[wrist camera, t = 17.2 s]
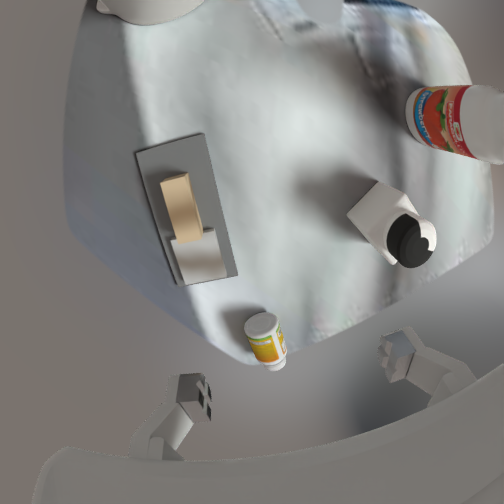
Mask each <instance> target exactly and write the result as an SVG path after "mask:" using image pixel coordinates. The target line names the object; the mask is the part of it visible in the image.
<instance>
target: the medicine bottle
mask: <svg viewBox="0 0 504 504" xmlns="http://www.w3.org/2000/svg"><path fill="white" fill-rule="evenodd" d="M347 217H348V218H349V219H350V220H351V221H352V223H353V224H354V225H355V226H356V227H357V228H358V230H359V231H360V232H361V233H362V234H363V235H364V237H365V238H366V239H367V240H368V241H369V243H370V244H371V245H372V246H373V247H374V248H375V249H376V250H377V251H378V252H379V253H380V254H381V255H382V256H383V257H384V258H385V259H386V260H387V261H388V262H389V263H390V264H392V265H394V264H395V263H396V262H397V261H398V262H399V263H400V264H401V265H403V266H404V267H407V268H415V267H418V266H420V265H422V264H424V263H425V262H426V261H427V260H428V259H429V258H430V256H431V255H432V253H433V251H434V249H435V245H436V231H435V228H434V226H433V225H432V224H431V223H430V222H429V221H427V220H425V219H424V218H422V217H421V216H419V215H418V213H417V211H416V210H415V208H414V207H413V205H412V203H411V202H410V200H409V199H408V197H407V196H406V194H405V193H403V192H401V191H399V190H397V189H395V188H393V187H390V186H388V185H386V184H384V183H382V182H377V183H376V184H375V185H374V186H373V187H372V188H371V189H370V190H369V191H368V193H367V194H366V195H365V196H364V197H363V198H362V199H361V200H360V201H359V202H358V203H357V204H356V205H355V206H354V207H353V208H352V209H351V210H350V211H349V212H348V213H347Z"/></svg>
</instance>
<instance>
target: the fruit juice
mask: <svg viewBox="0 0 504 504" xmlns="http://www.w3.org/2000/svg"><path fill="white" fill-rule="evenodd" d="M405 115H406V121H407V125H408V127H409V130H410V132H411V133H412V135H413V136H414V137H415V138H416V140H418V141H419V142H420V143H422V144H423V145H425V146H428V147H431V148H436V149H440V150H444V151H448V152H452V153H456V154H460V155H464V156H468V157H471V158H475V159H478V160H481V161H484V162H488V163H492V164H504V91H501V90H499V89H497V88H495V87H491V86H483V85H457V86H435V87H423V88H420V89H417V90H415V91H414V92H413V93H412V94H411V95H410V96H409V98H408V100H407V103H406V108H405Z"/></svg>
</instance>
